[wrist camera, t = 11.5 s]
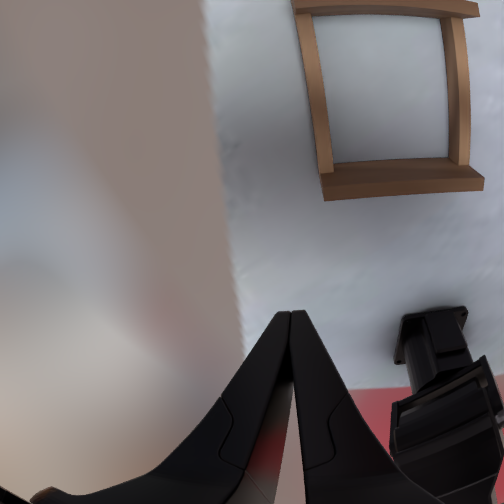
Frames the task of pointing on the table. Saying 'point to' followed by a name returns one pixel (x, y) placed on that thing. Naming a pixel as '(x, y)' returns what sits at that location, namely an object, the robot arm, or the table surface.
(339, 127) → the table surface
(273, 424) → the robot arm
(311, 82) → the slot rack
